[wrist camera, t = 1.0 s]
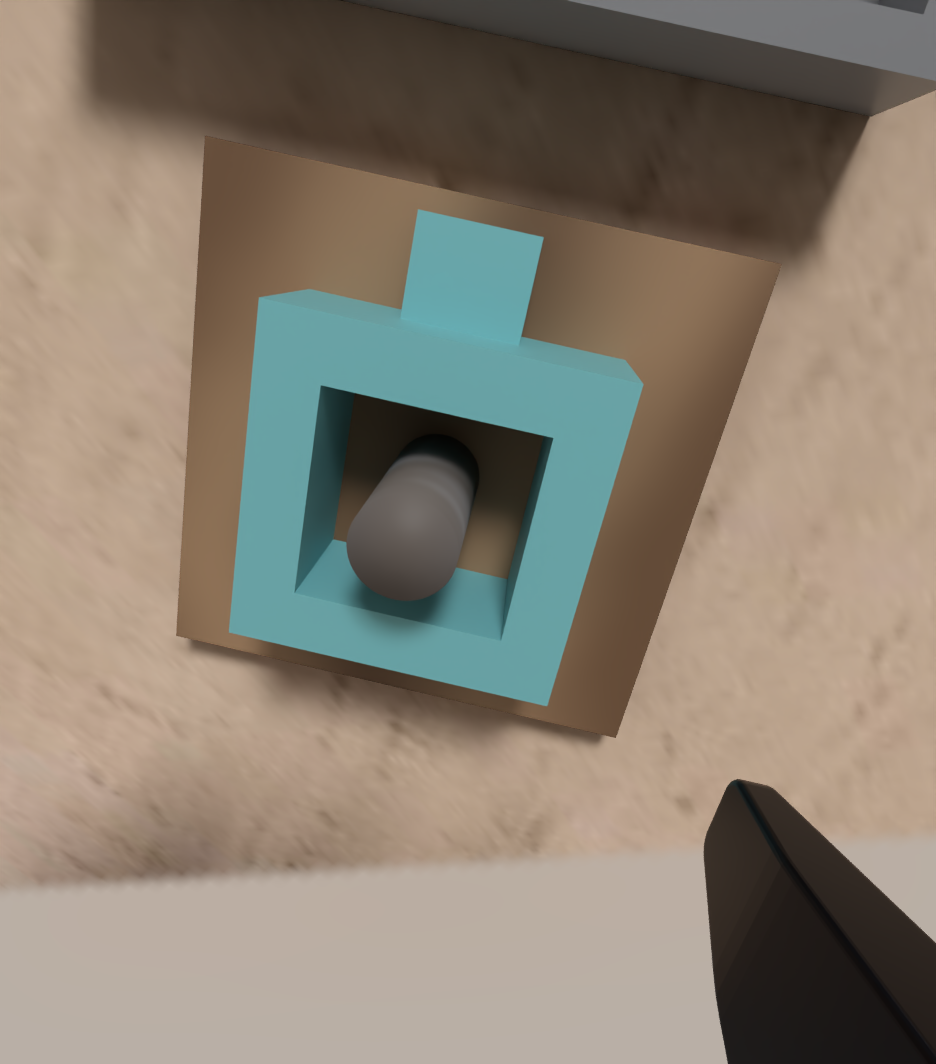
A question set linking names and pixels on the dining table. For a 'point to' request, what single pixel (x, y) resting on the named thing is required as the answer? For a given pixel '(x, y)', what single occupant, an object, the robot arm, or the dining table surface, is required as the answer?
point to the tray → (730, 41)
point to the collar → (444, 386)
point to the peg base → (455, 442)
